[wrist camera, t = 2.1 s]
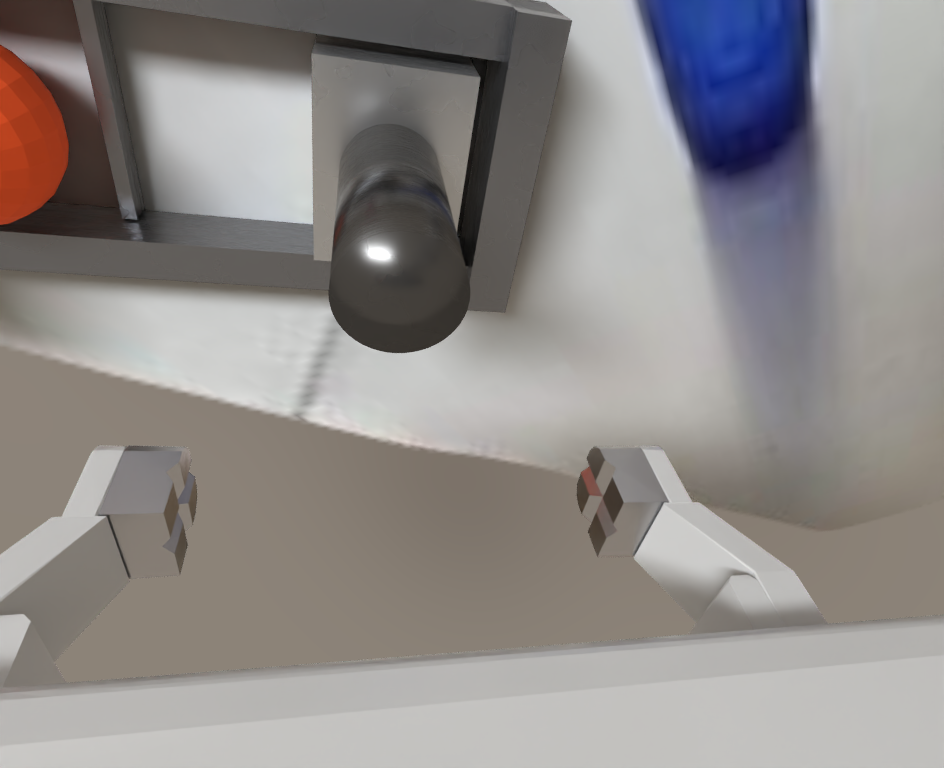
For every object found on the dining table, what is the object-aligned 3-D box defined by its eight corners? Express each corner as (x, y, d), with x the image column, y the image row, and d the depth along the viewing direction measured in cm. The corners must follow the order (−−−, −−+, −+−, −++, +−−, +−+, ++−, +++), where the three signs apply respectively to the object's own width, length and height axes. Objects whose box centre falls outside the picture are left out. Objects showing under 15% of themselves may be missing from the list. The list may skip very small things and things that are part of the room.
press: (546, 2, 24) (606, 44, 18) (491, 271, 32) (521, 362, 26) (-398, -162, 18) (-783, -181, 12) (-179, 221, 26) (-346, 326, 20)
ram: (466, 52, 25) (532, 169, 15) (442, 230, 30) (480, 404, 20) (318, 30, 23) (285, 141, 14) (319, 219, 28) (295, 399, 19)
